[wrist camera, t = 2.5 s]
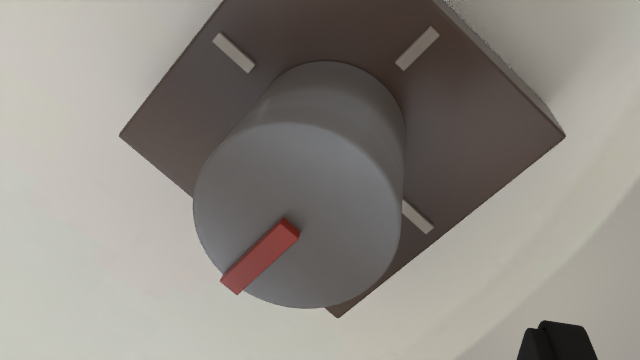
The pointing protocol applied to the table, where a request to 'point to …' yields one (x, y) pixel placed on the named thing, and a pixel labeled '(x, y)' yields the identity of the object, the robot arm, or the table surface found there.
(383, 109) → the dial
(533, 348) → the robot arm
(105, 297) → the table surface
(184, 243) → the table surface
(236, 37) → the panel
